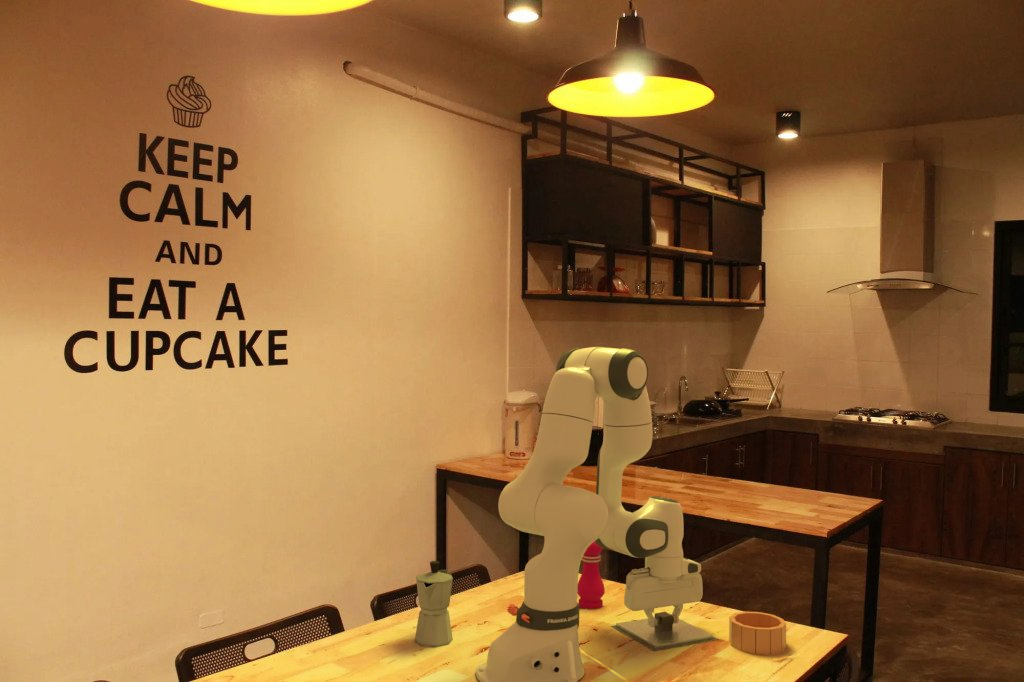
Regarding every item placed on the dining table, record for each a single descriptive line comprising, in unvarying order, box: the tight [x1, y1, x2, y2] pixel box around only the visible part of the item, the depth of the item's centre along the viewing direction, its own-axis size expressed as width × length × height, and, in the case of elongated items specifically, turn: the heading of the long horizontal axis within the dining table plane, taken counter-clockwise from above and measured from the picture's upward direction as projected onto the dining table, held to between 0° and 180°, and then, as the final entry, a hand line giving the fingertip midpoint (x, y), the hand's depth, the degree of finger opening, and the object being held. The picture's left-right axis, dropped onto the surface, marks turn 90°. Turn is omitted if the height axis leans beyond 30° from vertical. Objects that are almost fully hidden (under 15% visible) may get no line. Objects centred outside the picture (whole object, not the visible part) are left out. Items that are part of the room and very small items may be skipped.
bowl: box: [728, 611, 787, 656], centre depth 190 cm, size 12×12×6 cm
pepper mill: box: [577, 541, 606, 610], centre depth 217 cm, size 7×7×20 cm
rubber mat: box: [610, 624, 719, 652], centre depth 197 cm, size 18×18×1 cm
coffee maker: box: [414, 560, 454, 648], centre depth 193 cm, size 15×9×18 cm, turn 168°
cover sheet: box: [615, 611, 714, 649], centre depth 197 cm, size 16×16×4 cm
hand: (663, 624), depth 197 cm, fingers open, 5 cm apart
